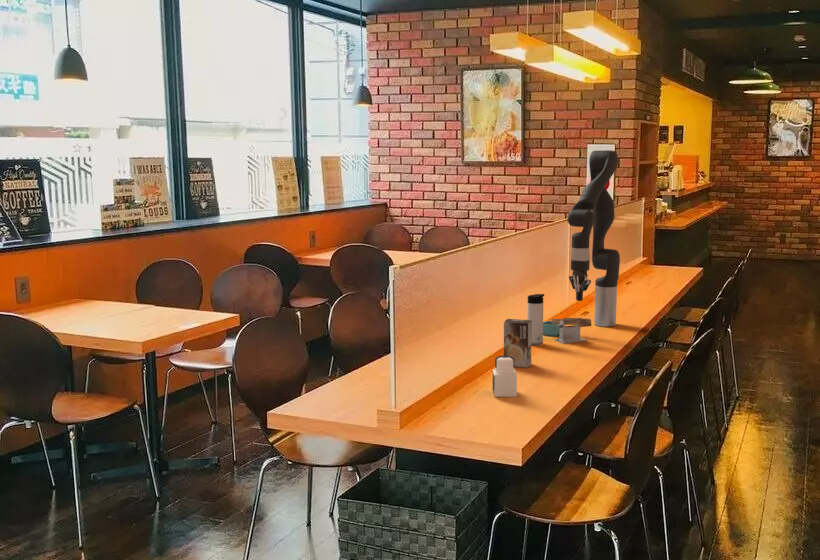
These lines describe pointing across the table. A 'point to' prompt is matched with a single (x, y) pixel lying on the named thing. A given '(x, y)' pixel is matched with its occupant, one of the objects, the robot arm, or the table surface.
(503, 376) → the medicine bottle
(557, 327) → the teal square bin
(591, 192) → the robot arm
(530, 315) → the travel mug
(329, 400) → the table surface
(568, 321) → the lever
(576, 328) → the fulcrum
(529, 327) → the coffee box
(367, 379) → the table surface
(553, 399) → the table surface
